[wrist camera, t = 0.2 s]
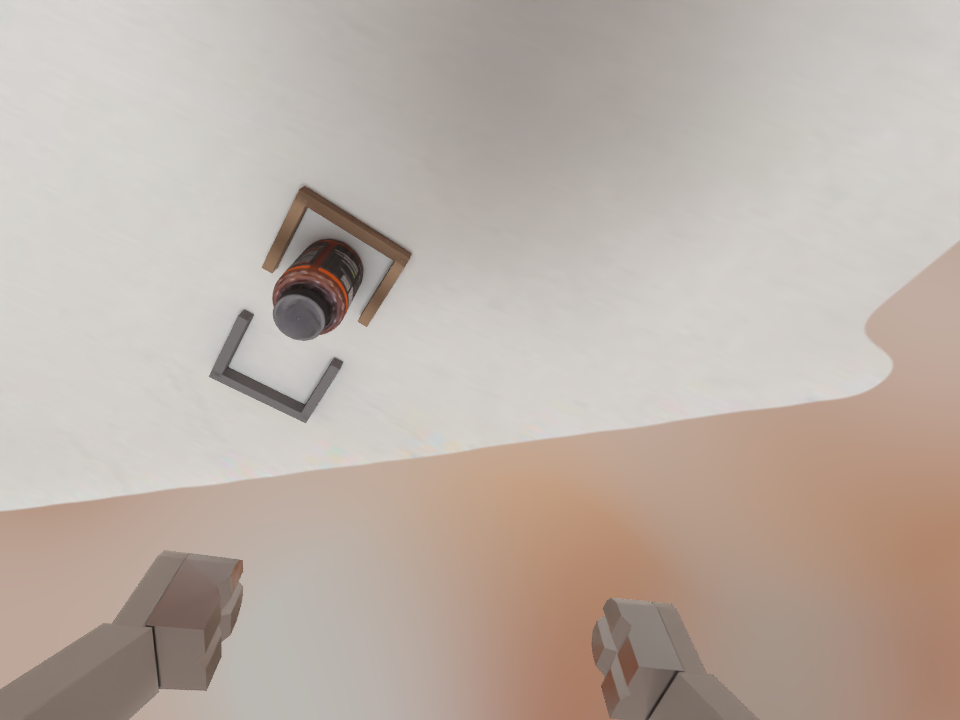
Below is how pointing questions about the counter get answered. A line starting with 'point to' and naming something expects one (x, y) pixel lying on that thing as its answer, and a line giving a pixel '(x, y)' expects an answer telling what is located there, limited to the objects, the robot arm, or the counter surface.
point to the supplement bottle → (316, 290)
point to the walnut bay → (352, 226)
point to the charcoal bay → (260, 390)
